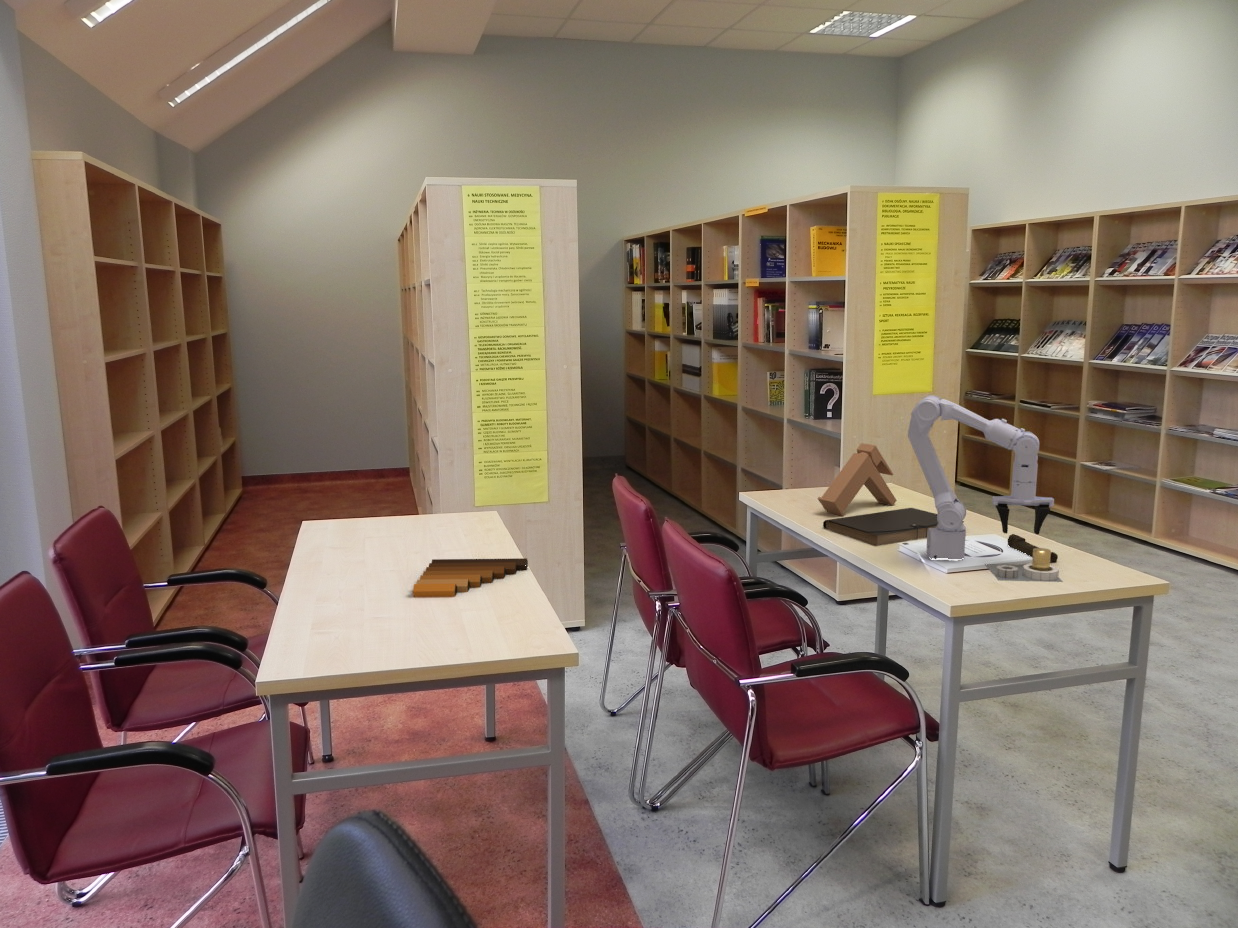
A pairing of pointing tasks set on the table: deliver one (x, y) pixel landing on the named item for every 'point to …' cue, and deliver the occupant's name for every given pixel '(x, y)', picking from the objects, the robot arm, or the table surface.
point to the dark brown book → (885, 526)
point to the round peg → (1041, 559)
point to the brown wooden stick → (1026, 547)
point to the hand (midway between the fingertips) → (1020, 532)
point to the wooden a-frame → (858, 481)
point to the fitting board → (1023, 573)
